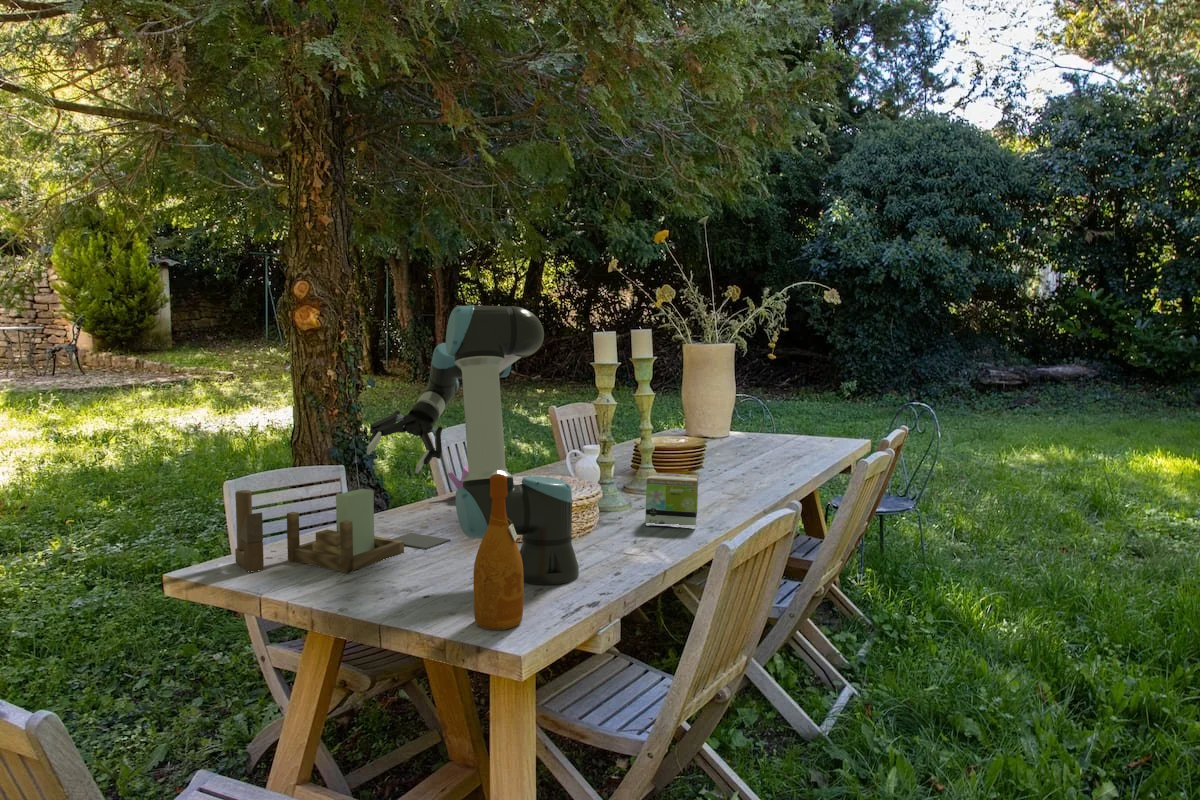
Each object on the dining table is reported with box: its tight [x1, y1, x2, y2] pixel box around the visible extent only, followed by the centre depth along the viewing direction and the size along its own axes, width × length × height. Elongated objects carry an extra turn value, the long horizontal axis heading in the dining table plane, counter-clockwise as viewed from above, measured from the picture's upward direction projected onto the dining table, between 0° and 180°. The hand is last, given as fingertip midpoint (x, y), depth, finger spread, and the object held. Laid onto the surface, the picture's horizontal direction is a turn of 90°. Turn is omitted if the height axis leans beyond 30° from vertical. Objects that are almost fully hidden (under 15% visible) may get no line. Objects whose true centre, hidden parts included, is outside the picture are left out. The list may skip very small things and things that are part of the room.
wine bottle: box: [473, 474, 525, 631], centre depth 161 cm, size 10×10×30 cm
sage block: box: [335, 488, 375, 556], centre depth 209 cm, size 4×9×16 cm, turn 152°
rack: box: [286, 511, 405, 574], centre depth 207 cm, size 20×20×12 cm
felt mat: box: [392, 532, 451, 550], centre depth 222 cm, size 14×10×1 cm
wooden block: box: [234, 489, 265, 572], centre depth 197 cm, size 4×11×18 cm, turn 39°
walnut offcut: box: [315, 529, 340, 547], centre depth 202 cm, size 7×4×3 cm, turn 61°
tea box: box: [645, 472, 699, 525], centre depth 243 cm, size 15×10×15 cm
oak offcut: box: [312, 542, 341, 556], centre depth 202 cm, size 8×4×3 cm, turn 69°
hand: (392, 460), depth 211 cm, fingers open, 13 cm apart
